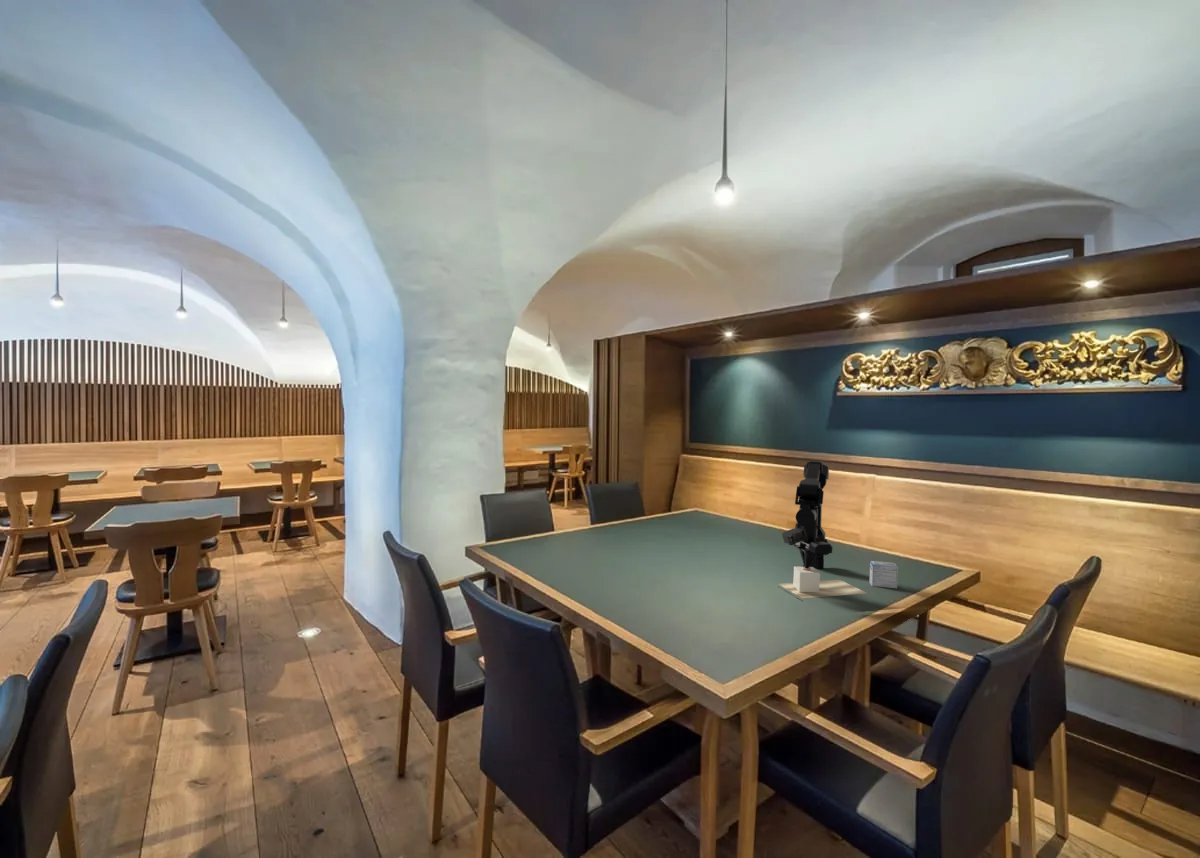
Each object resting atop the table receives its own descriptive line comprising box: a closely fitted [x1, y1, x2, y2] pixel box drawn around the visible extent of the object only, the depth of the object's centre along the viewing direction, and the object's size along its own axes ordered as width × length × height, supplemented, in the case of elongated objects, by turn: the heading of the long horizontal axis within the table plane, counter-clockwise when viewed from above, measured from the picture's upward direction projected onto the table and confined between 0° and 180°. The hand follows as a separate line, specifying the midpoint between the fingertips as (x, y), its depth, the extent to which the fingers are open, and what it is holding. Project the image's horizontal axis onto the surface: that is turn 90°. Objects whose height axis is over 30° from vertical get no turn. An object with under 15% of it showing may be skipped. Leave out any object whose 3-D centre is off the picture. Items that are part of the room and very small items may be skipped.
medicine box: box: [868, 560, 899, 589], centre depth 186 cm, size 8×4×9 cm, turn 74°
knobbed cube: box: [792, 565, 821, 593], centre depth 181 cm, size 6×6×7 cm
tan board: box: [777, 579, 867, 602], centre depth 182 cm, size 14×24×4 cm, turn 103°
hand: (806, 567), depth 181 cm, fingers closed, pressing on knobbed cube
